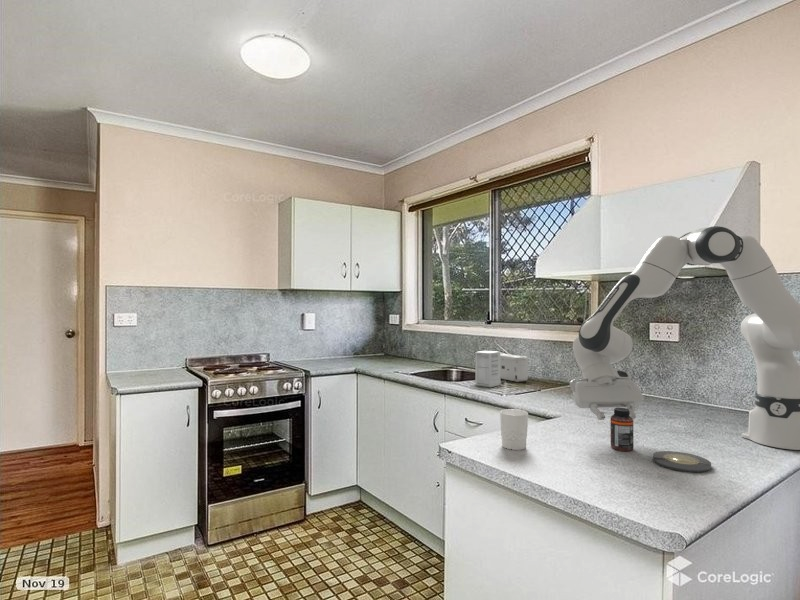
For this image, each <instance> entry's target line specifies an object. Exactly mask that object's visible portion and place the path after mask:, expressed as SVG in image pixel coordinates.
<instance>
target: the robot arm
mask: <svg viewBox="0 0 800 600" xmlns="http://www.w3.org/2000/svg"><path fill="white" fill-rule="evenodd" d="M712 264H720V265H721V266H722V267H723V269H724V270H725V271H726V273H727V275H728V278H729V280H730V282H731V284H732V286H733V288H734V290H735V293H737V296H738V298H739V299H740V301H741V303H742V304H743V305H745V306H746V307H748V308H749V309H750V310H751V311H753V313H751V314H748V315H747V316H745V317H744V319H743V320H742V321H741V324H740V333H741V336H742V337H743V339H745V340H746V342H747V343H748V345H749V346H750V350H751V352H752V355H753V356H752V357H753V359H754V363H755V367H756V393H755V397H754V401H755V402H754V403H755V407H754V408H752V409H751V410H749V413H748V429H747V431H745V432H742V433H741V437H742V438H743V439H744V438H745V439H747V440H751V441H753V442H755V443H757V444H760V445H763V446H766V447H767V446H769V447H772V448H778V449H783V450H784V449H786V450H794V451H800V364H799V363H798V361H797V359H796V357H795V354H794V352H793V351H795V352H800V303H799V301H797V299H796V298H795V297H794V296H793V295H792V294H791V293H790V292H789V290H788V289H787V287H786V286H785V285H784V283H783V281H782V279H781V277H780V276H779V274H778V272H777V269H776V268H775V266H774V264H773V262H772V260H771V258H770V257H769V254H768V253H767V252H766V250H765V249H764V248H763V246H762V245H761V244H760V242H759V241H758V240H757V238H755V237H753V236H750V235H737V234H736V233H735V232H734V231H733V230H731V229H729V228H727V227H724V226H719V225H716V226H715V225H714V226H710V227H703V228H698V229H696V230H694V231H690V232H687V233H685V234H683V235H681V236H680V237H677V236H673V235H663V236H660V237H659V238H657V239H656V240H655V241H654V242H653V243H652V244H651V246H650V247H649V248H648V250H647V251H646V253H644V255H643V256H642V258H641V260H640V261H639V263H638V264H637V266H636V267H635V268H634V270H632V272H631V273H629V274H627V275H625V276H623V277H621V279H620V280H619V281H618V282H617V283H616V284H615V285H614V287H613V288H612V289H611V290H610V291H609V293H608V294H607V295H606V297H605V298H604V299H603V301H602V302H601V303H600V304H599V305H598V307H597V309H595V311H594V312H593V313H592V314H591V315H590V316H589V317H588V318H586V320H585V321H584V322H582V324H581V325H580V327H579V330H578V336H577V337H576V338H574V340H573V342H572V352H573V355H574V359H575V361H576V363H577V366H578V368H580V370H581V375H582V379H577V378H576V379H575V378H574V379H572V380H570V382H569V387H570V389H571V391H572V395H573V399H574V403H575V405H576V406H577V407H578V408H579V409H589V410H590V412H591V413H593V415H595V416H596V417H597V418H596V419H597V420H598V421H603V420H605V419H606V415H605V412H603V411H600V409H599V408H601V409H602V408H603V409H604V408H626V409H629V410H630V414H629V416H630V417H632V418H633V420H635V419H636V417H637V414H636V412H635V410H636V409H635V408H639V407H640V406H641V405H642V403H643V402H644V400H645V399H644V395H643V394H642V391H641V389H640V388H639V386H638V385H637V383H636V382H635V381H633V380H632V375H631V373H630V372H629V371H625V370H624V371H623V370H620V369H616V368H614V367H612V365H615V364H617V363H620V362H622V361H624V360H626V359H627V358H628V357H630V355H631V354H632V352H633V349H634V340H633V338H632V336H631V335H630V334H628V333H626V332H625V331H624V330H622V329H619V328H618V327H616V326H614V322H615V320H617V318H618V316H620V314H621V313H622V311H623V310H624V309H625V307H626V306H627V305H628V304H629V303H630V302H631V301H632V300H633V301H634V300H635V299H639V298H642V299H643V298H644V299H653V298H658V297H661V296H663V295H665V294H666V293H667V292H668V290H669V289H670V288H671V287H672V285H673V284H674V282H675V281H676V278H677V277H678V275H679V273H680V271H681V270H682V269H683V268H684V267H685V266H686V265H687V266H710V265H712Z"/></svg>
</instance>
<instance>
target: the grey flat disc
mask: <svg viewBox="0 0 800 600" xmlns="http://www.w3.org/2000/svg"><path fill="white" fill-rule="evenodd" d="M652 461H653V463H654V464H656V465H658V466H660V467H663V468H664V469H665V468H666V469H668V470H672V471H676V472H681V473H688V474H689V473H690V474H691V473H692V474H694V473H695V474H702V473H703V474H704V473H708V472H710V471H711V470H712V463H711V461H710V460H709V459H707V458H705V457H702V456H699V455H696V454H692V453H687V452H682V451H676V450H675V451H673V450H670V451H669V450H662V451H656V452H653V453H652Z"/></svg>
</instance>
